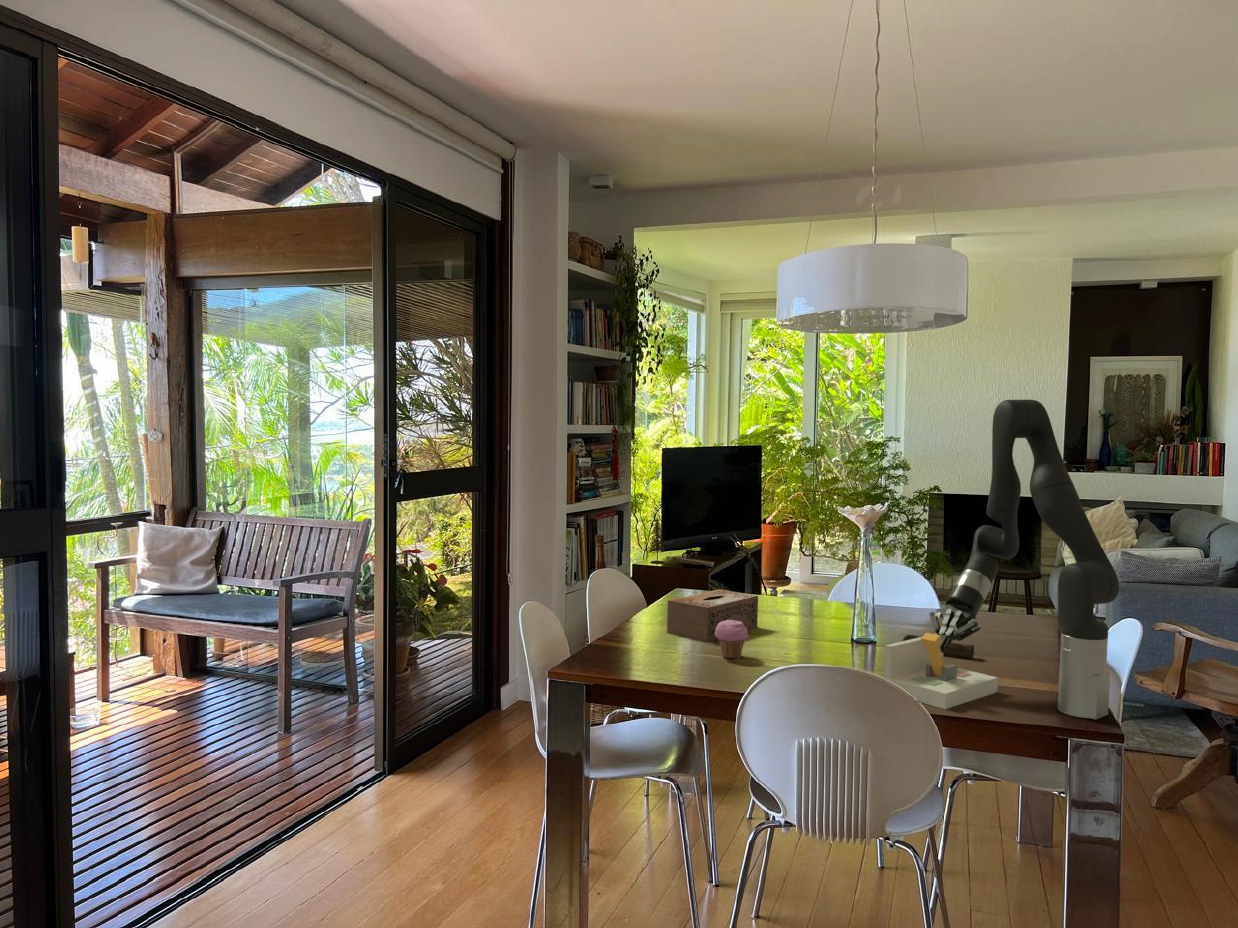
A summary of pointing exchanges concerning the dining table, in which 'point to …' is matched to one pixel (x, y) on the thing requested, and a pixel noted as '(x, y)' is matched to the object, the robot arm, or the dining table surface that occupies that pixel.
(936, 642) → the lever
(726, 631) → the cupcake
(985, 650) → the dining table surface
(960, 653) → the hand tool
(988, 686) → the white switch base
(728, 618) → the tissue box cover
